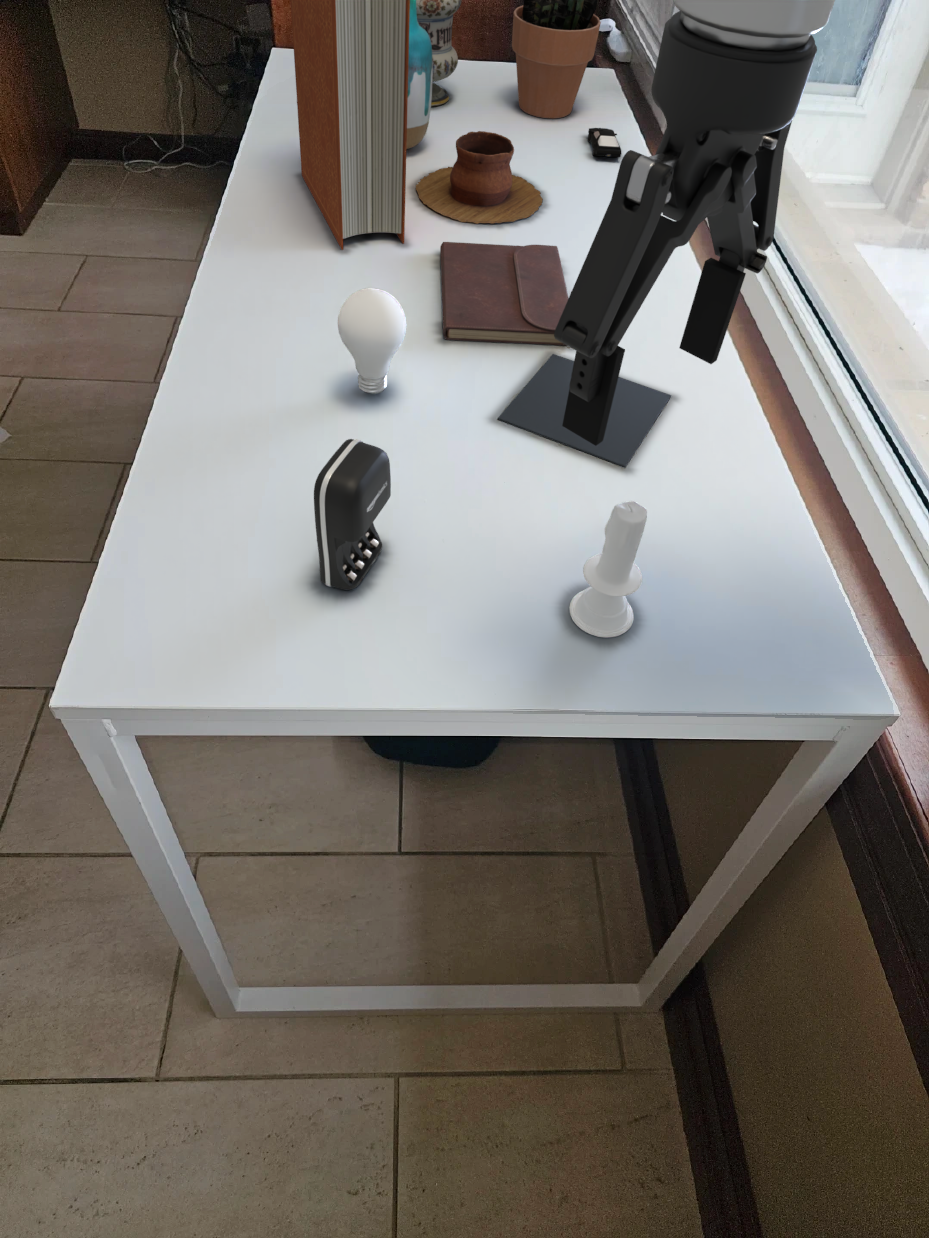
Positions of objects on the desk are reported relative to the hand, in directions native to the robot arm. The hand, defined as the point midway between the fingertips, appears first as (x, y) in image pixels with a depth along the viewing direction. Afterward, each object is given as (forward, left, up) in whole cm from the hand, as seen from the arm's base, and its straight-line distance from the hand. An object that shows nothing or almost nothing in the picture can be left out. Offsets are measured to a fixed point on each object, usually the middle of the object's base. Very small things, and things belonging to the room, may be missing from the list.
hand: (643, 392), depth 58 cm
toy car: (+34, -89, -20) cm, 97 cm away
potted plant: (+48, -98, -20) cm, 111 cm away
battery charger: (+18, +8, -20) cm, 28 cm away
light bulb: (+30, -14, -20) cm, 39 cm away
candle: (-2, +2, -20) cm, 20 cm away
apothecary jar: (+67, -89, -20) cm, 113 cm away
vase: (+60, -69, -20) cm, 94 cm away
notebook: (+27, -39, -20) cm, 52 cm away
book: (+55, -48, -20) cm, 76 cm away
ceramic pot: (+42, -62, -20) cm, 78 cm away
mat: (+10, -24, -20) cm, 33 cm away
